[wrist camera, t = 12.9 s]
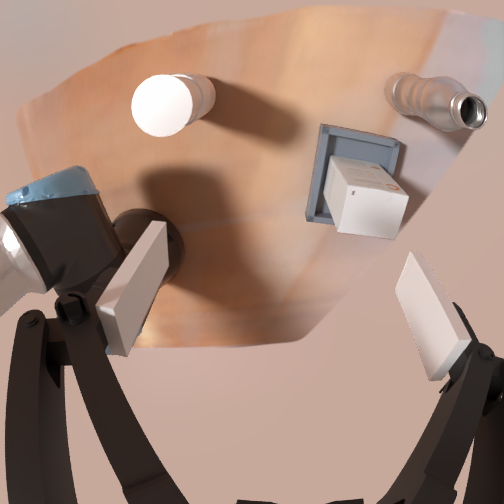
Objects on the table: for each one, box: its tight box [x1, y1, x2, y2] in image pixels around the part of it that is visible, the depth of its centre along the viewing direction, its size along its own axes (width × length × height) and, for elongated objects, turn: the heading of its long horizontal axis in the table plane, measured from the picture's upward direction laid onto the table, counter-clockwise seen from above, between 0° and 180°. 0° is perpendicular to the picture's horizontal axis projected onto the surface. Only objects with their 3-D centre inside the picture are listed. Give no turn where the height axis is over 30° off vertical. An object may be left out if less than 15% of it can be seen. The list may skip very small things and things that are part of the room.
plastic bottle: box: [385, 72, 488, 132], centre depth 30 cm, size 6×7×20 cm
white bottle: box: [132, 73, 216, 137], centre depth 35 cm, size 7×7×15 cm
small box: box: [323, 155, 409, 240], centre depth 40 cm, size 8×6×13 cm
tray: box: [305, 124, 401, 225], centre depth 45 cm, size 12×15×2 cm
